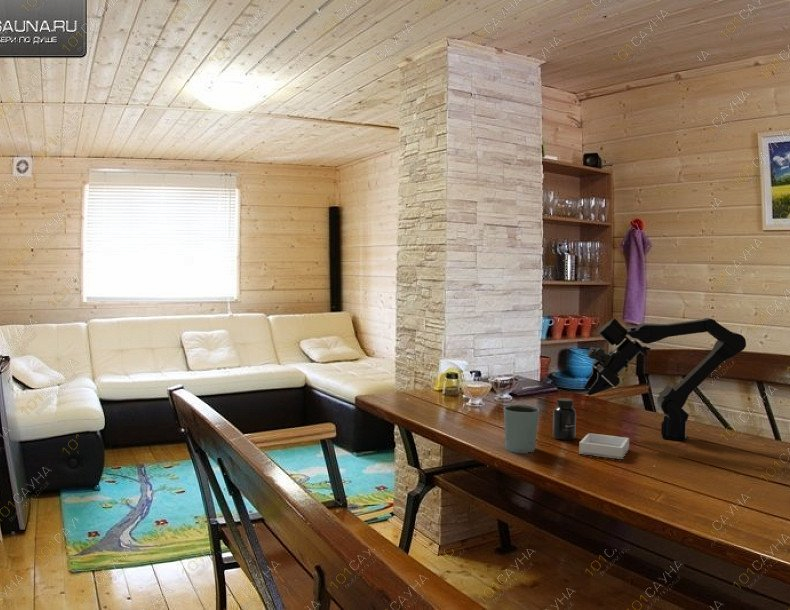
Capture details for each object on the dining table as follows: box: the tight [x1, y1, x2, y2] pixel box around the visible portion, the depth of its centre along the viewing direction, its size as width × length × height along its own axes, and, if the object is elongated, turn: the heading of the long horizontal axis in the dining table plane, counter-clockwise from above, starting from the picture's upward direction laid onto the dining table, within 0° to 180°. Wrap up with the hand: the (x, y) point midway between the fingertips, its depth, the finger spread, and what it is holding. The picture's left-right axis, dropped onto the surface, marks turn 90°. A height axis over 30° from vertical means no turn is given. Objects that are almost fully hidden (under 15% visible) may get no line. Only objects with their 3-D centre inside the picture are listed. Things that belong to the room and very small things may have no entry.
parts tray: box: [578, 432, 630, 460], centre depth 191 cm, size 12×12×4 cm
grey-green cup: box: [503, 404, 540, 454], centre depth 194 cm, size 10×10×12 cm
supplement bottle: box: [552, 397, 577, 441], centre depth 206 cm, size 7×7×12 cm
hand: (586, 391), depth 210 cm, fingers open, 9 cm apart
